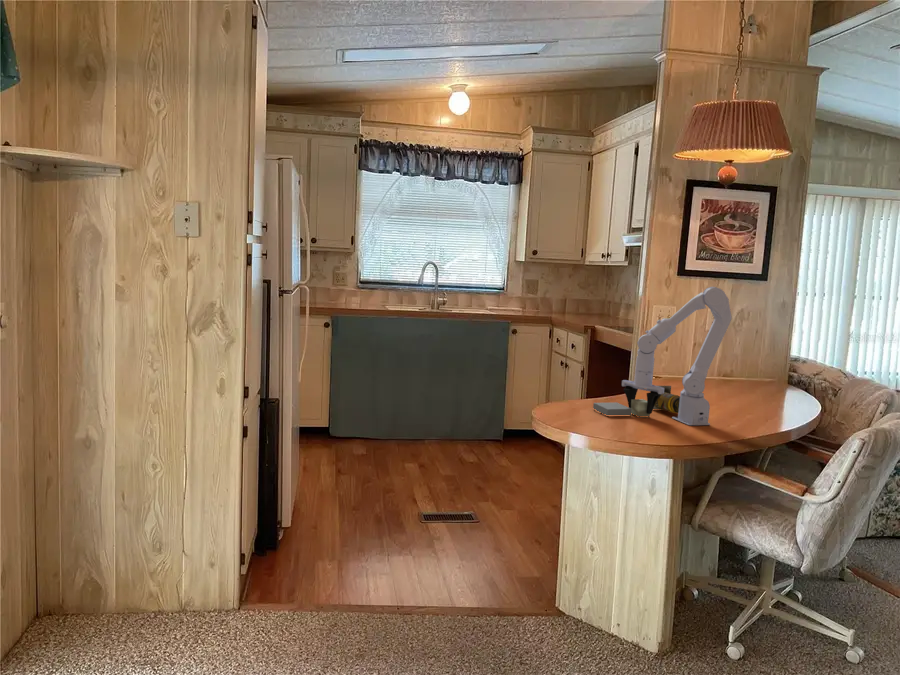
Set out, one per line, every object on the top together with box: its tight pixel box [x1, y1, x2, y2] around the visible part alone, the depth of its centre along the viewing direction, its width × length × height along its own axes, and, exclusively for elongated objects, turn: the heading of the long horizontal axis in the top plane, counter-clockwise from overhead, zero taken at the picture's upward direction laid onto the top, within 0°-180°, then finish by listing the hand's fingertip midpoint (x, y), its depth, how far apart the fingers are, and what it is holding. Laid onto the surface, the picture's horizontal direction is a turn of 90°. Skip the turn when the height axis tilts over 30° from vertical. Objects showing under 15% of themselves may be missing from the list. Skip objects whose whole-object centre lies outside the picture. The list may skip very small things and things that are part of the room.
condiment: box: [653, 385, 680, 414], centre depth 229 cm, size 7×8×12 cm
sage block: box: [631, 398, 651, 416], centre depth 224 cm, size 4×4×5 cm
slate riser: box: [592, 402, 632, 416], centre depth 225 cm, size 9×9×3 cm
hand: (640, 411), depth 224 cm, fingers closed on sage block, 6 cm apart
